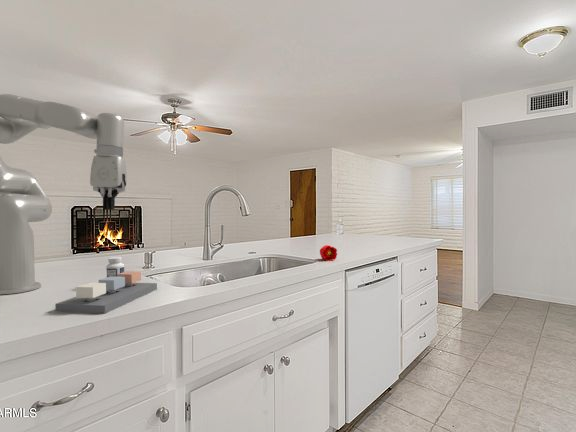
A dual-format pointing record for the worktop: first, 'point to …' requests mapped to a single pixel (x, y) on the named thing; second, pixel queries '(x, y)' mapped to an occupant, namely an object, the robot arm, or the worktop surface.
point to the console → (106, 299)
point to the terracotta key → (130, 277)
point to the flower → (328, 253)
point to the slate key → (113, 283)
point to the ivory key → (90, 291)
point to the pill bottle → (115, 266)
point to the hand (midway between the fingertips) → (108, 209)
